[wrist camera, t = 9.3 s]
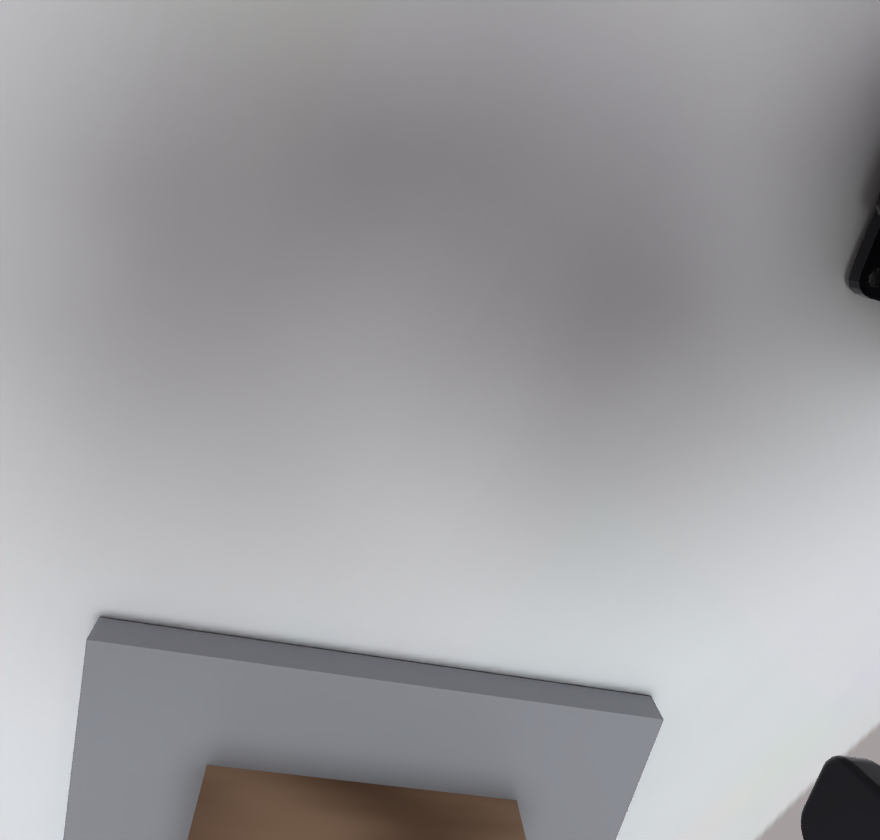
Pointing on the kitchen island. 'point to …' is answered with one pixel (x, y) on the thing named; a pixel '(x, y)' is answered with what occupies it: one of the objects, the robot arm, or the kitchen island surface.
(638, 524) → the kitchen island surface
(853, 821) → the robot arm
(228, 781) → the walnut brick
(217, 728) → the baseplate
